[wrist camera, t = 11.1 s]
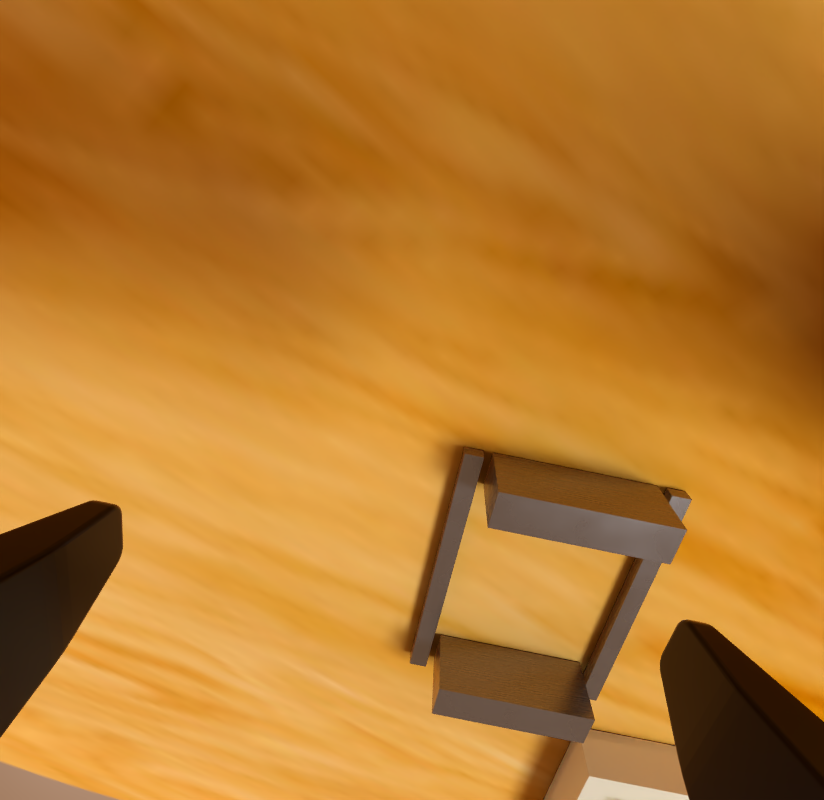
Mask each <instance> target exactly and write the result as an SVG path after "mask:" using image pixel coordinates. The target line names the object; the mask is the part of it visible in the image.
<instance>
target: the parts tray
mask: <svg viewBox="0 0 824 800" xmlns="http://www.w3.org/2000/svg"><path fill="white" fill-rule="evenodd" d="M544 800H689V797H688V794H687V791H686V787H685V783H684V780H683V776H682V773H681V768H680V764H679V760H678V755H677V751H676V746H673V745H668V744H663V743H658V742H652V741H647V740H642V739H637V738H632V737H627V736H622V735H617V734H612V733H607V732H602V731H597V730H592V729H590V731H589V733H588V735H587V737H586V739H585V741H584V743H578V742H573V741H571V743H570V745H569V747H568V749H567V751H566V753H565V755H564V757H563V760H562V762H561V764H560V766H559V768H558V770H557V772H556V774H555V777H554V779H553V781H552V783H551V785H550V787H549V789H548V792H547V794H546V796H545V798H544Z"/></svg>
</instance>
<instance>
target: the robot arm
mask: <svg viewBox="0 0 824 800" xmlns="http://www.w3.org/2000/svg"><path fill="white" fill-rule="evenodd" d="M122 549H123V533H122V512H121V509H120V507H119V506H117V505H115V504H111V503H106V502H101V501H89V502H86V503H83V504H80V505H78V506H75V507H72V508H70V509H67V510H64V511H62V512H59V513H56V514H54V515H51V516H48V517H45V518H43V519H40V520H37V521H35V522H32V523H29V524H27V525H24V526H21V527H19V528H16V529H13V530H11V531H8V532H5V533H3V534H0V737H1V736H2V735H3V733H4V732H5V731H6V729H7V728H8V727H9V725H10V724H11V723H12V721H13V720H14V719H15V717H16V716H17V715H18V713H19V712H20V711H21V709H22V708H23V707H24V705H25V704H26V703H27V701H28V700H29V699H30V697H31V696H32V694H33V693H34V692H35V690H36V689H37V688H38V686H39V685H40V684H41V682H42V681H43V680H44V678H45V677H46V676H47V674H48V673H49V672H50V670H51V669H52V668H53V666H54V665H55V663H56V662H57V661H58V659H59V658H60V656H61V655H62V654H63V652H64V651H65V649H66V648H67V646H68V644H69V643H70V641H71V640H72V638H73V637H74V635H75V633H76V632H77V630H78V628H79V627H80V625H81V623H82V622H83V620H84V618H85V617H86V615H87V613H88V612H89V610H90V608H91V607H92V605H93V603H94V602H95V600H96V598H97V597H98V595H99V593H100V592H101V590H102V588H103V587H104V585H105V583H106V582H107V580H108V578H109V577H110V575H111V573H112V572H113V570H114V568H115V567H116V565H117V563H118V562H119V559H120V557H121V554H122ZM660 671H661V677H662V682H663V687H664V692H665V697H666V701H667V706H668V711H669V716H670V721H671V726H672V731H673V736H674V741H675V746H676V751H677V755H678V760H679V764H680V768H681V773H682V776H683V780H684V783H685V787H686V791H687V794H688V797H689V800H824V722H823V721H822V720H821V719H820V718H819V717H818V716H816V715H815V714H814V713H813V712H812V711H811V710H809V709H808V708H807V707H806V706H805V705H804V704H802V703H801V702H800V701H799V700H798V699H797V698H795V697H794V696H793V695H792V694H791V693H790V692H788V691H787V690H786V689H785V688H784V687H783V686H781V685H780V684H779V683H778V682H777V681H776V680H774V679H773V678H772V677H771V676H770V675H769V674H767V673H766V672H765V671H764V670H763V669H762V668H760V667H759V666H758V665H757V664H756V663H755V662H753V661H752V660H751V659H750V658H749V657H748V656H746V655H745V654H744V653H743V652H742V651H741V650H739V649H738V648H737V647H736V646H735V645H734V644H732V643H731V642H730V641H729V640H728V639H727V638H726V637H724V636H723V635H722V634H721V633H720V632H719V631H717V630H716V629H715V628H714V627H713V626H711V625H709V624H706V623H702V622H697V621H692V620H682V621H681V622H679V623H678V625H677V627H676V628H675V630H674V632H673V634H672V636H671V638H670V640H669V642H668V644H667V646H666V648H665V650H664V651H663V653H662V656H661V660H660Z"/></svg>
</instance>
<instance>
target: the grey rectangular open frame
mask: <svg viewBox="0 0 824 800" xmlns="http://www.w3.org/2000/svg"><path fill="white" fill-rule="evenodd" d="M483 460H484V452H483V450H478V449H473V448H468V447H464V451H463V454H462V458H461V462H460V466H459V470H458V474H457V477H456V481H455V485H454V489H453V493H452V497H451V500H450V504H449V508H448V512H447V516H446V520H445V524H444V527H443V531H442V535H441V539H440V543H439V547H438V550H437V554H436V558H435V562H434V566H433V570H432V573H431V577H430V581H429V585H428V589H427V593H426V597H425V600H424V604H423V608H422V612H421V616H420V620H419V623H418V627H417V631H416V635H415V639H414V643H413V646H412V650H411V656H410V663H411V664H416V665H421V666H426V664H427V660H428V657H429V653H430V649H431V646H432V642H433V639H434V635H435V632H436V628H437V624H438V621H439V617H440V614H441V610H442V607H443V603H444V599H445V596H446V592H447V589H448V585H449V582H450V578H451V574H452V571H453V567H454V564H455V560H456V557H457V553H458V549H459V546H460V542H461V539H462V535H463V532H464V528H465V524H466V521H467V517H468V514H469V510H470V506H471V503H472V499H473V496H474V492H475V489H476V485H477V481H478V478H479V474H480V471H481V467H482V464H483ZM484 494H485V504H486V514H487V524H488V528H493V529H498V530H503V531H508V532H513V533H517V534H522V535H527V536H532V537H537V538H542V539H547V540H552V541H557V542H562V543H567V544H572V545H577V546H582V547H587V548H592V549H597V550H602V551H607V552H612V553H617V554H622V555H626V556H631V557H636V558H635V560H634V562H633V565H632V567H631V569H630V571H629V573H628V576H627V578H626V580H625V582H624V585H623V587H622V589H621V591H620V594H619V596H618V598H617V600H616V602H615V605H614V607H613V609H612V611H611V614H610V616H609V618H608V620H607V622H606V625H605V627H604V629H603V631H602V634H601V636H600V638H599V640H598V643H597V645H596V647H595V649H594V651H593V654H592V656H591V658H590V660H589V663H588V665H587V667H586V669H585V671H584V674H583V673H582V669H581V665H580V663H579V662H574V661H569V660H564V659H559V658H554V657H549V656H544V655H539V654H534V653H529V652H524V651H519V650H514V649H509V648H504V647H499V646H494V645H489V644H484V643H479V642H474V641H469V640H464V639H459V638H454V637H449V636H444V635H440V639H439V642H438V646H437V649H436V653H435V656H434V673H433V698H432V713H433V714H438V715H443V716H448V717H453V718H458V719H463V720H468V721H473V722H478V723H483V724H488V725H493V726H498V727H503V728H508V729H513V730H518V731H523V732H528V733H533V734H538V735H543V736H548V737H553V738H558V739H563V740H568V741H573V742H578V743H584V741H585V739H586V737H587V735H588V733H589V731H590V729H591V727H592V725H593V723H594V721H595V719H594V715H593V711H592V707H591V703H590V700H589V699H591V700H597V698H598V696H599V693H600V691H601V689H602V687H603V685H604V683H605V681H606V679H607V677H608V675H609V672H610V670H611V668H612V666H613V664H614V662H615V660H616V658H617V656H618V654H619V651H620V649H621V647H622V645H623V643H624V641H625V639H626V637H627V635H628V633H629V630H630V628H631V626H632V624H633V622H634V620H635V618H636V616H637V614H638V612H639V609H640V607H641V605H642V603H643V601H644V599H645V597H646V595H647V593H648V590H649V588H650V586H651V584H652V582H653V580H654V578H655V576H656V574H657V572H658V569H659V567H660V565H661V563H666V564H671V562H672V560H673V558H674V556H675V554H676V552H677V550H678V548H679V545H680V543H681V541H682V539H683V537H684V535H685V533H686V531H687V529H686V528H685V526H684V525H683V523H682V522H681V521H682V519H683V517H684V515H685V513H686V511H687V509H688V506H689V504H690V502H691V500H692V499H691V498H690V497H689V495H688V494H687V493H686V492H685V491H680V490H675V489H670V488H667V489H666V491H665V493H664V495H663V493H662V492H661V490H660V489H659V487H658V486H655V485H650V484H645V483H641V482H636V481H631V480H626V479H621V478H616V477H611V476H606V475H601V474H596V473H591V472H586V471H581V470H577V469H572V468H567V467H562V466H557V465H552V464H547V463H542V462H537V461H532V460H527V459H522V458H517V457H512V456H508V455H503V454H498V453H493V454H492V457H491V461H490V464H489V468H488V471H487V475H486V478H485V482H484Z"/></svg>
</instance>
